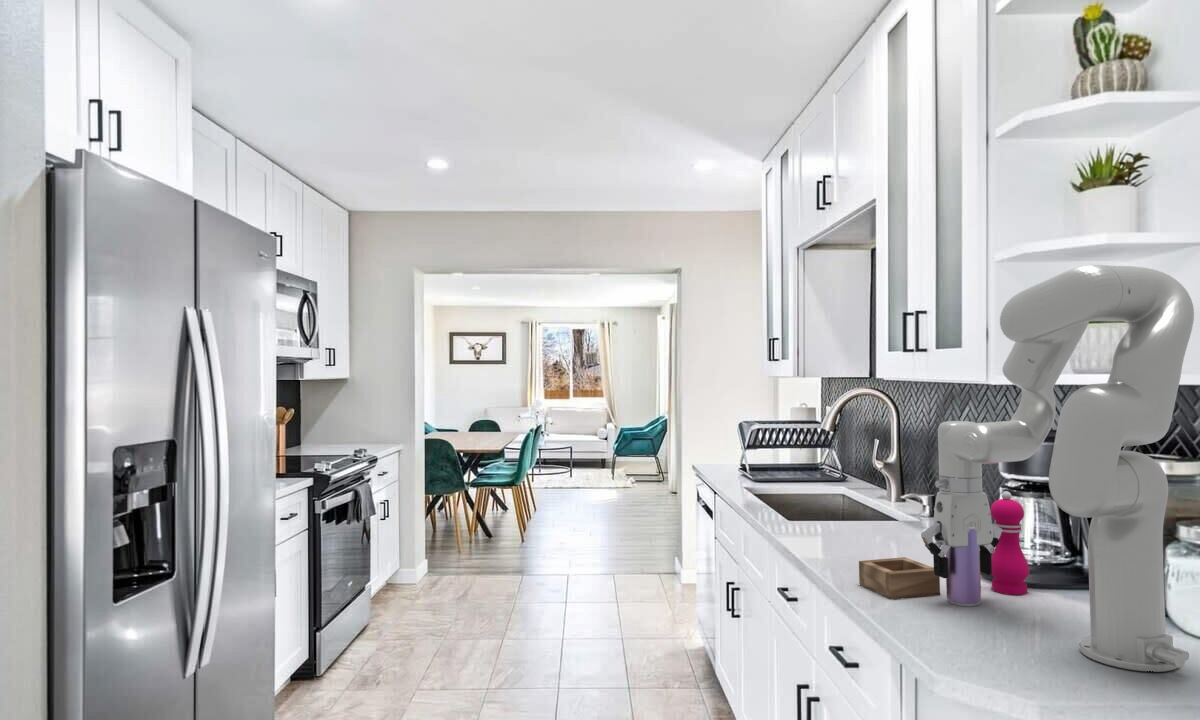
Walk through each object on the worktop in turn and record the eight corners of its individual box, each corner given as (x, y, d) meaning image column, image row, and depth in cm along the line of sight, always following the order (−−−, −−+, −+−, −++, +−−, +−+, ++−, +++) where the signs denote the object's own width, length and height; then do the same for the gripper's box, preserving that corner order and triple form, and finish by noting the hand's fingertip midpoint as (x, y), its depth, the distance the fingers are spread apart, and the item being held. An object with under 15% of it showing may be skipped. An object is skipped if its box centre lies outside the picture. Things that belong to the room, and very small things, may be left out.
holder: (940, 594, 150) (939, 569, 151) (891, 599, 148) (890, 573, 148) (905, 580, 161) (904, 557, 161) (859, 584, 159) (858, 561, 159)
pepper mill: (1035, 596, 148) (1032, 494, 149) (995, 595, 150) (992, 493, 150) (1022, 586, 155) (1019, 489, 156) (984, 585, 157) (981, 488, 157)
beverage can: (973, 609, 141) (970, 528, 142) (941, 602, 146) (939, 524, 146) (986, 602, 145) (984, 524, 145) (954, 596, 150) (952, 519, 150)
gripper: (934, 490, 140) (937, 583, 140) (1013, 485, 144) (1015, 576, 144) (909, 485, 148) (911, 573, 147) (984, 480, 152) (986, 566, 151)
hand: (963, 574), depth 146 cm, fingers open, 9 cm apart
